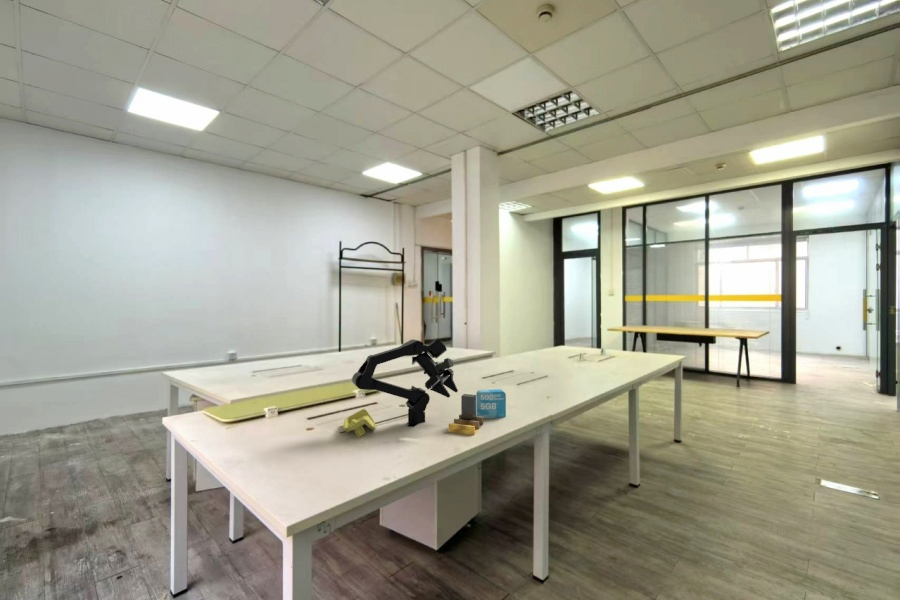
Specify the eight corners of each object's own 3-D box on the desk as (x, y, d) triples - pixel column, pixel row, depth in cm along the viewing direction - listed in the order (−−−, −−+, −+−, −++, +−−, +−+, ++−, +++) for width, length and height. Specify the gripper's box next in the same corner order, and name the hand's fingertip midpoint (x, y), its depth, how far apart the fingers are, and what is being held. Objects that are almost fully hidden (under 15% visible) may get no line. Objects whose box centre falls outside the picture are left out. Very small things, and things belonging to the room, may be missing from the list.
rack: (448, 434, 143) (448, 423, 143) (459, 424, 155) (459, 414, 155) (474, 437, 139) (473, 426, 139) (483, 426, 151) (483, 416, 152)
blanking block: (461, 426, 149) (461, 395, 149) (464, 423, 152) (464, 393, 153) (473, 427, 147) (473, 397, 148) (476, 425, 151) (476, 394, 151)
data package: (478, 420, 160) (478, 392, 160) (476, 417, 164) (476, 389, 164) (506, 419, 161) (505, 391, 161) (503, 416, 166) (503, 389, 166)
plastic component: (344, 418, 155) (367, 406, 157) (352, 434, 155) (375, 422, 158) (342, 431, 136) (367, 417, 138) (351, 449, 136) (376, 434, 138)
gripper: (432, 354, 146) (459, 385, 142) (449, 349, 163) (473, 377, 159) (413, 374, 148) (439, 404, 144) (432, 366, 166) (455, 394, 162)
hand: (453, 394), depth 152 cm, fingers open, 9 cm apart
